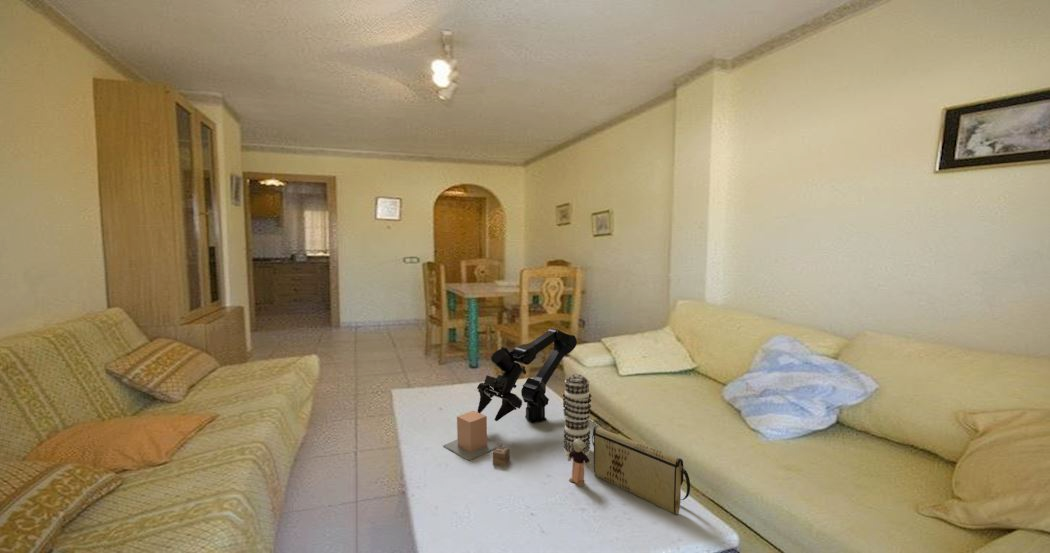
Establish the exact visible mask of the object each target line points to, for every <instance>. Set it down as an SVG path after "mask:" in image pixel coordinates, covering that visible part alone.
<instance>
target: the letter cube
mask: <svg viewBox="0 0 1050 553" xmlns="http://www.w3.org/2000/svg"><path fill="white" fill-rule="evenodd" d="M510 456H511V455H510V448H509V447H502V446H501V447H499V446H498V447H497V448H496V449H494V450H492V465H494V466H500V467H506V466H507V464H508V463H509V462H510Z"/></svg>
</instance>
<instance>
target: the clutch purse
mask: <svg viewBox="0 0 1050 553" xmlns="http://www.w3.org/2000/svg"><path fill="white" fill-rule="evenodd" d="M592 430H593V431H592V437H591V438H592V439H591V441H592V445H593V473H594V474H593V475H594V476H595V477H598V478H600V479H602V480H603V481H606V482H608V483H610V484H612V485H615V486H616V487H618V488H620V489H623V490H625V491H628V492H629V493H632V494H634V495H635V496H638V497H639V498H641V499H643V500H645V501H647V502H650V503H652V504H654V505H656V506H658V507H659V508H662V509H664V510H666V511H668V512H671V513H673V514H675V516H678V515H679V514H680V509H681V501H684V500H686V499H687V498H688V497H689V495H690V492H691V482H690V476H689V473H688V471H687V470H686V467H685V466H684V460H683V459H682V458H679V457H678V456H677V457H676V456H674V455H672V454H669V453H666V452H664V451H661V450H659V449H655V448H654V447H650V446H649V445H646V444H642V443H640V442H637V441H635V440H632V439H629V438H628V437H625V436H622V435H619V434H616V433H614V432H611V431H609V430H606V429H603V428H601V427H599V426H594V427H593V429H592ZM684 477H685V481H686V482H685V483H686V494H685V496H684V497H683V498H681V497H682V496H681V495H682V494H681V492H682V491H681V489H682V488H681V487H682V485H683V483H684Z"/></svg>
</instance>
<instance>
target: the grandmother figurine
mask: <svg viewBox="0 0 1050 553" xmlns="http://www.w3.org/2000/svg"><path fill="white" fill-rule="evenodd" d="M573 444H574V450H573V451H572V452H571V453H570V454H569V456H568V457H567V461H568V462H571V461H572V470H571V476H570V477H569V479H568V481H569V482H570V483H576V484H577V486H583V485H584V484H585V483H586V481H585V464H586V466H587V468H588V469H591V468H592V465H591V462H590V461H591V460H590V459H589V457H588V455H587V456H586V455H585V454H584V453H583V452H582V450H583V449H584V448H585V444H584V443H583V442H582V440H580V439H575V440H574V442H573ZM572 459H573V460H572ZM584 482H585V483H584Z"/></svg>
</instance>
